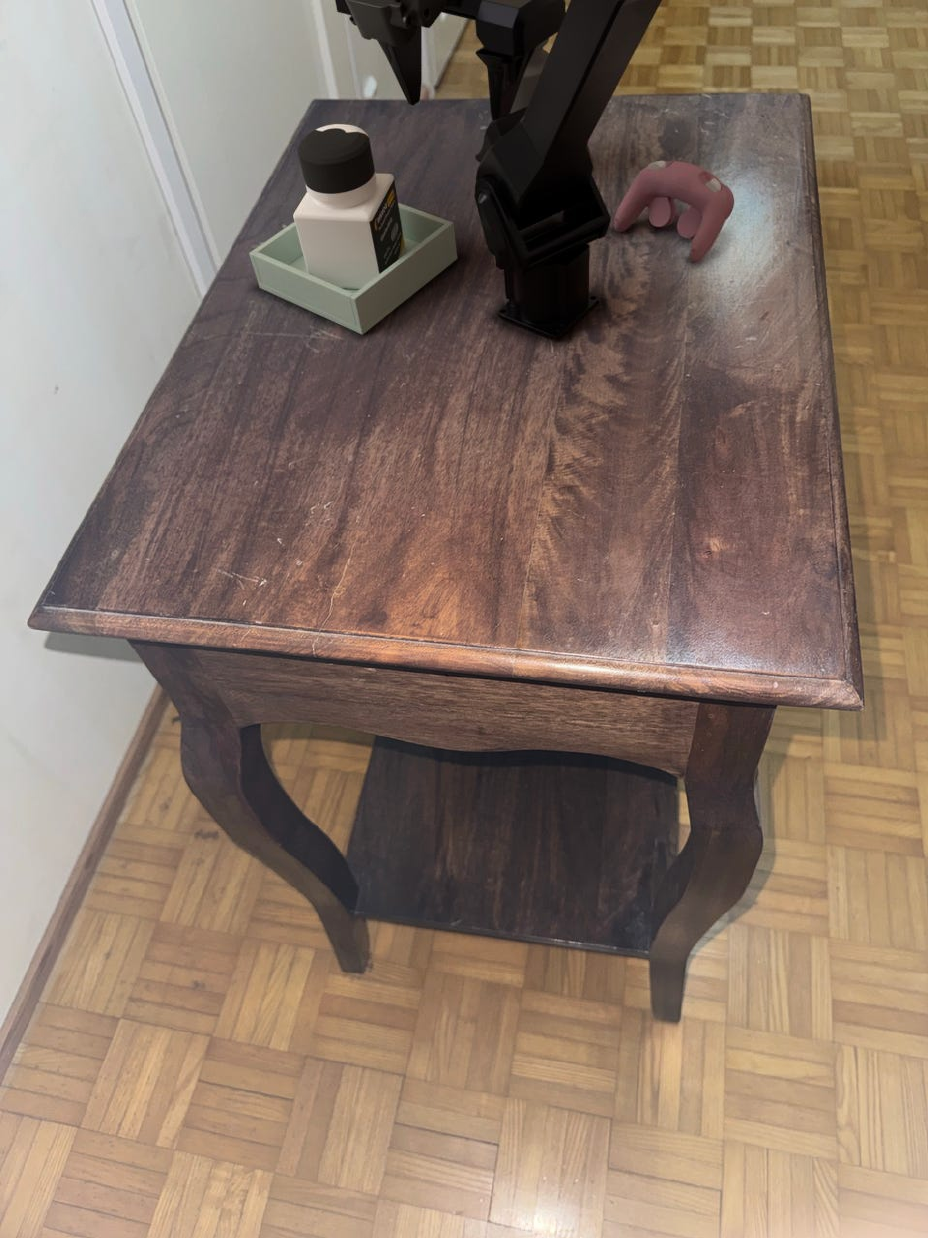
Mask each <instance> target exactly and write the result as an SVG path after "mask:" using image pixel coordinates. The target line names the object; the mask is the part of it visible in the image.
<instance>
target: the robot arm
mask: <svg viewBox="0 0 928 1238" xmlns="http://www.w3.org/2000/svg"><path fill="white" fill-rule="evenodd" d="M334 1H335V7H336V12H337V13H340V14H343V15H348V16H349V17H348V19H349V21H350V23H351V24H352V25H353V26H356V27H357V29H358V31H359V34H360V36H361V38H362V39H364V40H368V41H371V40H376V41H377V42H378V45H379V47H380V48H381V50H382V52H383V53H384V56H385V58H386V59H387V61H388V63H389V66H390V68H391V70H392V72H393V74H394V76H395V78H396V81H397V83H398V85H399V87H400V89H401V91H402V93H403V95H404V97H405V99H406V102H407V103H408V105H410V106H415V105H416V104H418V103H419V102H420V101H421V94H422V93H421V92H422V82H423V81H422V79H423V74H422V73H423V71H422V70H423V61H422V59H423V57H422V56H423V55H422V54H423V48H422V47H423V44H422V43H423V40H422V38H423V35H422V32H423V30H422V29H423V28H425V29H430V28H431V27H432V26H433V25H434V23H435V22H436V21H437V20H438V18H439V17H440V15H441V14H446V15H450V16H455V17H458V18H463V19H468V20H473V21H474V23H475V36H476V38H477V39H478V40H479V42H480V44H482V46H481V48H479V49H477V50H476V51H475V56H476V57H478V59H480V61H481V62H482V63H483V64H484V65H485V67H486V70H487V81H488V82H487V83H488V94H489V105H490V106H489V107H490V115H491V121H490V123H489V125H488V126H487V128H486V130H485V132H484V138H483V144H482V147H481V149H480V151H479V152H478V153H476V154H475V155H474V157H475V160H476V162H478V163H479V165H478V166H477V170H476V175H475V185H474V194H473V196H474V201H475V205H476V208H477V212H478V216H479V220H480V224H481V228H482V231H483V235H484V240H485V244H486V246H487V249H488V252H489V253H490V254H491V255H492V256H493V257H494V263H495V267H496V268H497V269H498V270H499V271H503V279H504V280H503V281H504V282H503V283H504V296H505V299H506V300H508V301H507V302H506V303H505V304H503V305H502V306H501V307H500V308H499V309H498V310H497V317H498V319H501V320H503V321H505V322H508V323H511V324H513V325H516V326H518V327H520V328H522V329H525V330H528V331H530V332H532V333H534V334H537V335H539V336H542V337H545V338H546V339H549V340H552V341H559V340H561V339H562V338H563V337H564V336H565V335H567V334H568V332H570V331H571V330H572V329H573V328H574V327H575V326H576V325H577V324H578V323H580V322H581V321H582V319H584V318H585V317H586V316H587V315H588V314H589V313H590V312H592V310H594V309H595V308H596V307H597V306H598V305H599V303H600V296H599V295H597V294H595V293H592V292H590V258H591V257H590V256H591V255H590V254H591V245H590V243H592V242H594V241H596V240H598V239H599V240H601V239H603V238H605V237H606V236H607V233H608V230H609V227H610V224H611V222H612V216H611V214H610V212H609V210H608V207H607V205H606V203H605V200H604V199H603V196H602V194H601V191H600V190H599V188H598V185H597V183H596V180H595V178H594V176H593V172H594V167H595V161H594V158H593V156H592V153H591V150H590V147H589V144H588V143H589V140H590V139H591V137H592V134H593V133H594V131H595V129H596V127H597V125H598V123H599V122H600V119H601V117H602V116H603V113H604V112H605V110H606V108H607V106H608V104H609V102H610V101H611V98H612V96H613V94H614V93H615V91H616V89H617V87H618V85H619V83H620V81H621V79H622V77H623V76H624V74H625V72H626V70H627V68H628V66H629V65H630V62H631V60H632V58H633V56H634V55H635V53H636V51H637V49H638V47H639V45H640V43H641V41H642V39H643V38H644V36H645V34H646V32H647V30H648V28H649V26H650V24H651V22H652V20H653V19H654V16H655V15H656V13H657V10H658V9H659V7H660V5H661V3H662V1H663V0H570V1H569V3H568V7H566V3H567V1H566V0H334ZM555 34H556V35H555ZM554 35H555V38H554V40H553V43H552V44H551V45H552V46H551V48H550V50H549V52H548V53H549V55H548V58H547V60H546V63H545V65H544V68H543V70H542V73H541V75H540V78H539V80H538V82H537V85H536V87H535V90H534V92H533V95H532V97H531V100H530V102H529V105H528V107H525V108H523V109H521V110H518V111H516V112H513V113H511V114H510V112H511V109H512V106H513V103H514V101H515V98H516V95H517V92H518V89H519V87H520V84H521V81H522V78H523V76H524V73H525V70H526V68H527V66H528V64H529V62H530V60H531V57H532V55H533V53H534V51H535V49H536V47H537V46H538V45H540V44H541V43H542V42H544V41H545V40H547V39H548V38H549V39H550V38H551V37H552V36H554Z"/></svg>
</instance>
